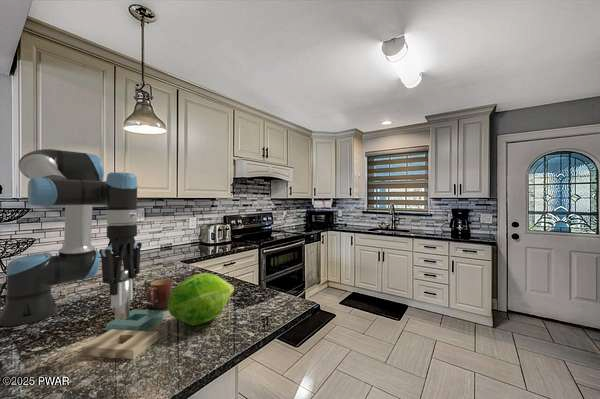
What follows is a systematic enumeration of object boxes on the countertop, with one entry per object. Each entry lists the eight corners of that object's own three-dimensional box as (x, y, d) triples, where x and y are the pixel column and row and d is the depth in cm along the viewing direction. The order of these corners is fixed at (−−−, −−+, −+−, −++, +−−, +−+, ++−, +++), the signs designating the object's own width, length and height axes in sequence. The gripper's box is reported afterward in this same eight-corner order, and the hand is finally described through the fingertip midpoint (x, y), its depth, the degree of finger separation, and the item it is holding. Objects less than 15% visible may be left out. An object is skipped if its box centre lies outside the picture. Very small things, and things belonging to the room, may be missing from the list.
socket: (106, 333, 84) (106, 324, 84) (133, 317, 96) (133, 309, 96) (139, 335, 83) (139, 326, 83) (163, 318, 95) (163, 310, 95)
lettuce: (247, 316, 96) (247, 271, 96) (179, 344, 77) (179, 288, 78) (220, 303, 109) (220, 263, 109) (157, 325, 90) (157, 276, 90)
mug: (160, 301, 111) (160, 278, 112) (178, 303, 110) (178, 279, 110) (138, 313, 100) (138, 287, 100) (157, 315, 98) (157, 288, 98)
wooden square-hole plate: (81, 355, 72) (81, 346, 72) (111, 337, 82) (111, 329, 82) (133, 359, 70) (133, 350, 70) (157, 339, 80) (157, 331, 80)
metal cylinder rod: (111, 319, 74) (111, 271, 75) (121, 314, 78) (121, 268, 78) (122, 320, 74) (123, 272, 74) (132, 315, 78) (132, 269, 78)
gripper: (109, 226, 68) (109, 315, 67) (152, 222, 84) (152, 293, 84) (84, 226, 69) (84, 313, 68) (132, 222, 85) (132, 292, 85)
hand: (122, 302), depth 76 cm, fingers closed on metal cylinder rod, 3 cm apart
